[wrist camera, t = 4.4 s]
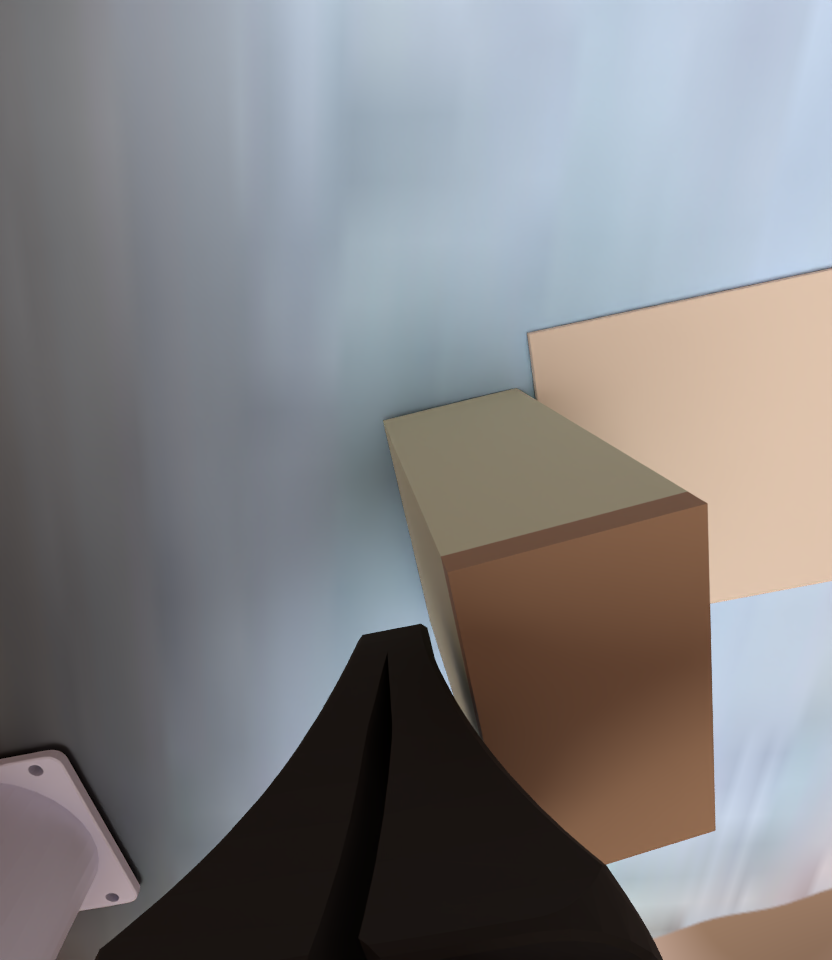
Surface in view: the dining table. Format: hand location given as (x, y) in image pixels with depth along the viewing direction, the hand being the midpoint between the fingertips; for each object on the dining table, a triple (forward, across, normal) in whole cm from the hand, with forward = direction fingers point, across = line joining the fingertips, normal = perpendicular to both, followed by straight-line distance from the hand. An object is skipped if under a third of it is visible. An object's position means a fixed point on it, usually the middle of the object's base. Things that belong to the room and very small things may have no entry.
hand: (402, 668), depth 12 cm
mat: (+7, -11, 0) cm, 13 cm away
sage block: (+7, -2, 0) cm, 7 cm away
